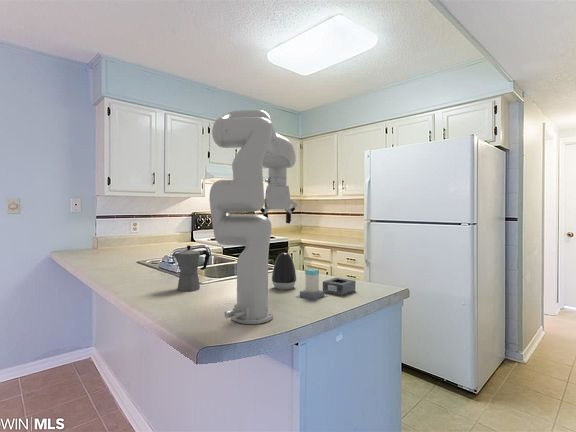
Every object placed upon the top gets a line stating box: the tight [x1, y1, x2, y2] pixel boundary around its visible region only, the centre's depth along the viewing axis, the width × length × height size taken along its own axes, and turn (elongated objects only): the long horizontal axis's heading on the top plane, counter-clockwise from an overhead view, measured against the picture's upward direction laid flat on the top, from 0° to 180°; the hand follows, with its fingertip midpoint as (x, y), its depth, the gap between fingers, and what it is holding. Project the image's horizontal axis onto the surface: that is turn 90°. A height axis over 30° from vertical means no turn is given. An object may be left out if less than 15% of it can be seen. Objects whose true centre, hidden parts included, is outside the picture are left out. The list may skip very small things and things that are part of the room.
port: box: [322, 277, 356, 297], centre depth 132 cm, size 10×9×5 cm
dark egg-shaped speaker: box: [271, 252, 297, 291], centre depth 139 cm, size 10×10×15 cm
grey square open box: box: [295, 289, 329, 302], centre depth 125 cm, size 9×9×3 cm
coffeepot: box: [172, 244, 211, 293], centre depth 138 cm, size 15×9×18 cm, turn 121°
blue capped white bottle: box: [304, 268, 320, 293], centre depth 125 cm, size 4×4×10 cm
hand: (277, 223), depth 139 cm, fingers open, 9 cm apart
